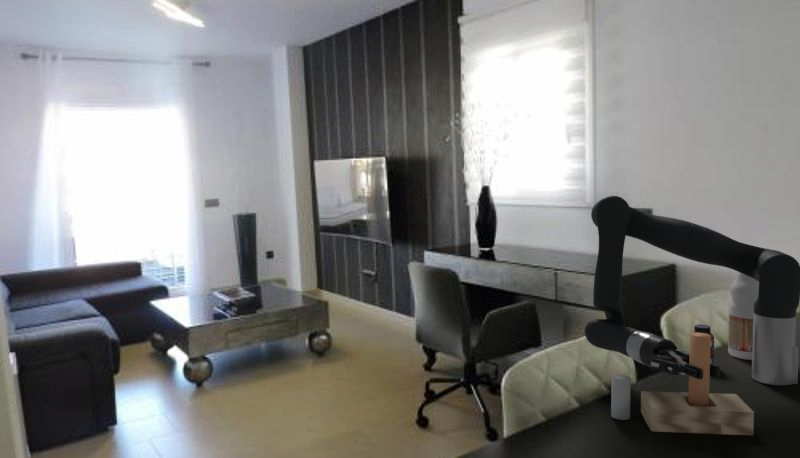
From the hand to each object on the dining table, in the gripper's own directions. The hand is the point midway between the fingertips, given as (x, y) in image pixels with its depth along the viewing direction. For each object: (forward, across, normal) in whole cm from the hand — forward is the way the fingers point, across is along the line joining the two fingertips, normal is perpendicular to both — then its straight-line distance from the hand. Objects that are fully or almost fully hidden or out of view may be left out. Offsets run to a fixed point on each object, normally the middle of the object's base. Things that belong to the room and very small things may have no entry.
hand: (709, 373), depth 127 cm
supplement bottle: (-30, +30, +12) cm, 44 cm away
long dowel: (-3, 0, +10) cm, 11 cm away
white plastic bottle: (-32, +48, +12) cm, 59 cm away
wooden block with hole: (-3, 0, +12) cm, 12 cm away
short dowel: (-12, -13, +12) cm, 22 cm away
